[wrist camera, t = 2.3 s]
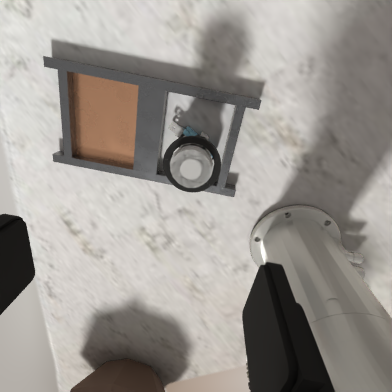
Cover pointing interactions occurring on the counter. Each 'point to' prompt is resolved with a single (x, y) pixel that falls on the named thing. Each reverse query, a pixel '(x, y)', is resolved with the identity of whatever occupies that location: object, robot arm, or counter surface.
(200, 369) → the counter surface
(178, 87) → the rail
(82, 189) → the counter surface
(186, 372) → the counter surface
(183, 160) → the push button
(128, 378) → the brown cauldron
